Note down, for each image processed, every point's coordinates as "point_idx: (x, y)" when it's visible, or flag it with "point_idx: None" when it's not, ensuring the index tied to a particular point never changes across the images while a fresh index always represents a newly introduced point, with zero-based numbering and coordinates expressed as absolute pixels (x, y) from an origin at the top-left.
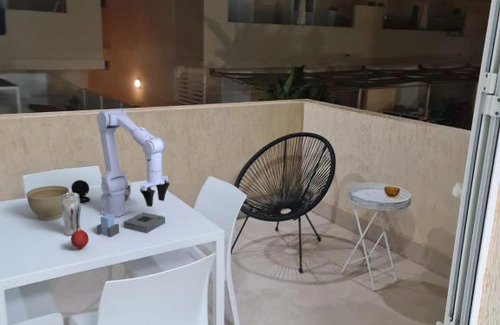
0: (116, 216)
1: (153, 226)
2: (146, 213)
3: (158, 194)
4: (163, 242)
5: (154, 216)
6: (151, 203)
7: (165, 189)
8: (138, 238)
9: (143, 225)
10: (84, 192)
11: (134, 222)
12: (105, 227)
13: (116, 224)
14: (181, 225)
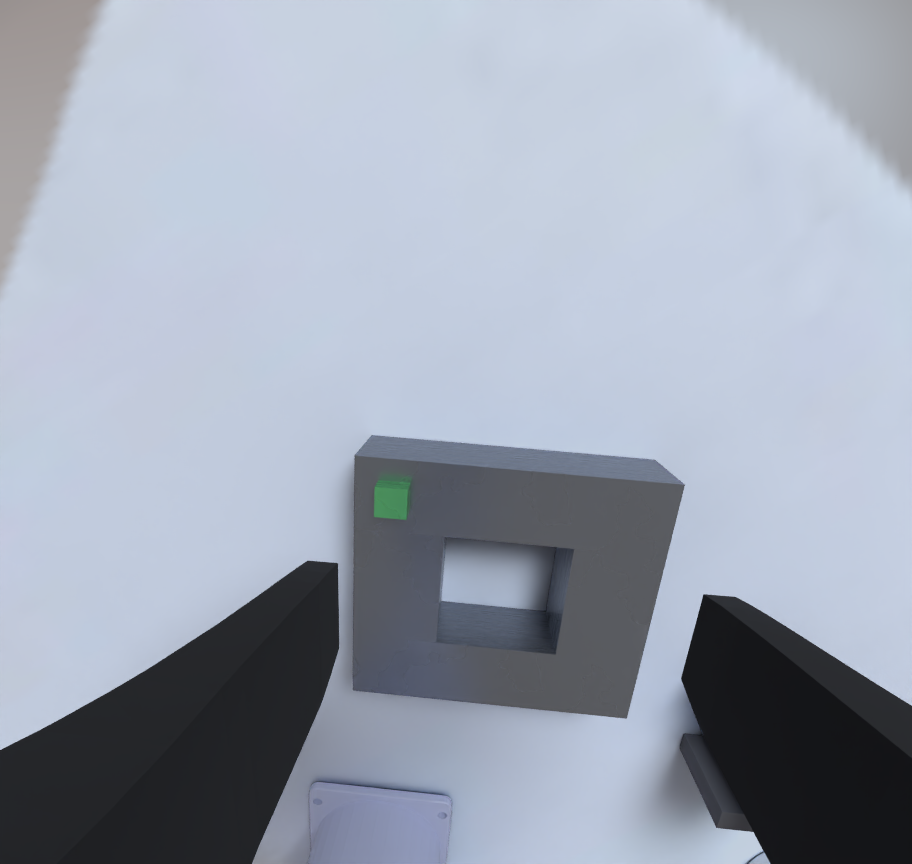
0: (451, 807)
1: (557, 460)
2: (366, 652)
3: (286, 772)
4: (824, 182)
5: (397, 554)
6: (811, 644)
7: (83, 807)
8: (781, 462)
9: (654, 529)
10: None
11: (611, 636)
12: None
13: None
14: (350, 253)
